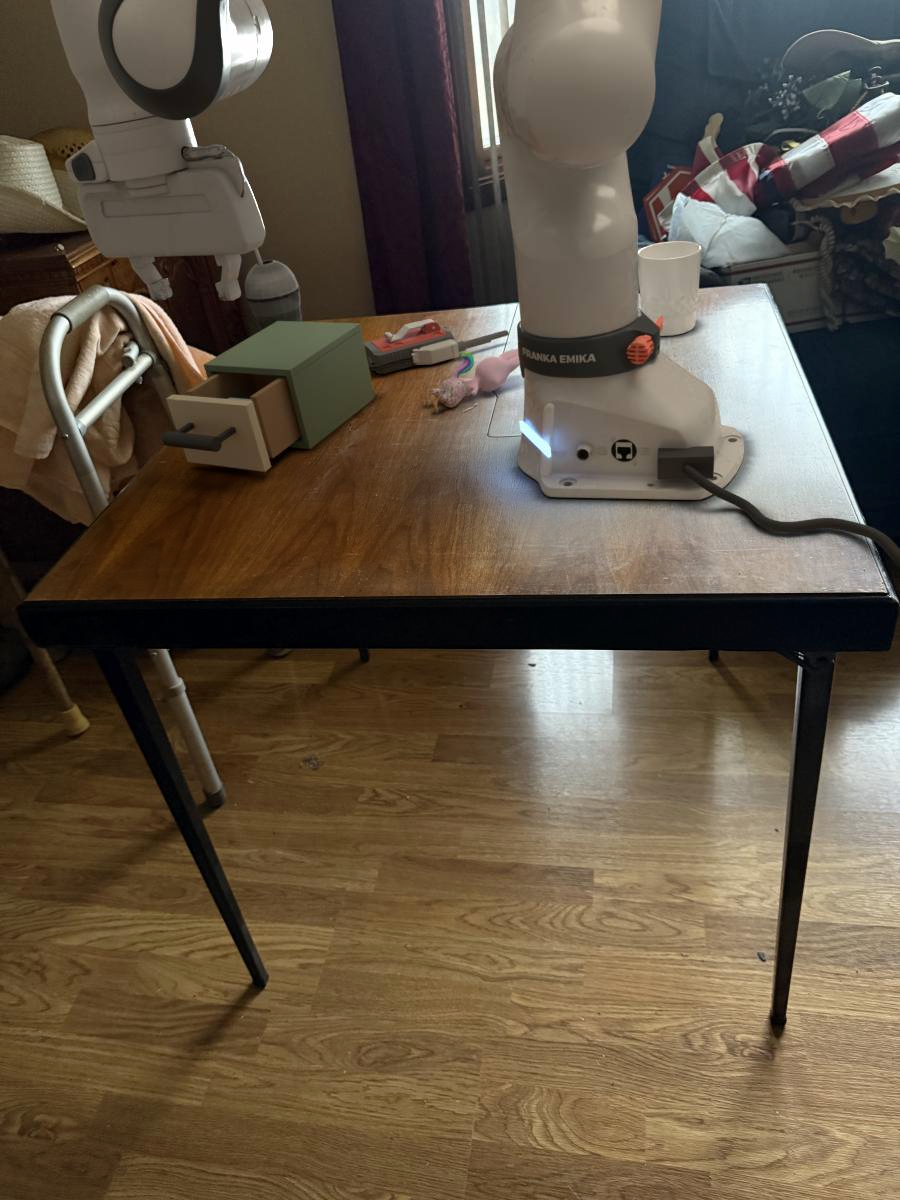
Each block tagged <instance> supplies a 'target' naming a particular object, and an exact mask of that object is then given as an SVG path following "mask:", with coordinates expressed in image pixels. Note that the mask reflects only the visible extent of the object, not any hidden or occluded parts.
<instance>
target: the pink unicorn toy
mask: <svg viewBox="0 0 900 1200" xmlns="http://www.w3.org/2000/svg"><path fill="white" fill-rule="evenodd" d="M459 358H461V359H463V360H462V362H461V363H460V364H459V365H458V366H457V367H456V370H455V371H454V374H453V375H452V377H450V378H448V379H446V380H444V381H443V382H442V383H441V385H440V386H439V387H438V388H430V389H429V391H428V393H427V394H426V393H425V392H423V395H424V399H425V401H424V402H425V404H427V407H429V406H430V400H429V399H430V396H431V395H433V396H434V397H435V398H436V399H434V398H431V400H432V401H433V402H432V404H433V410H434V409H435V410H436V413H438V412H439V407H438V403H442V404H443V405H444V406H445V407H446V408H455V407H456V406H458V404H459V403H460V402H461V401H462V400H463V398H464V397H465V396H470V395H471V396H473V397H474V396H476V394H477V393H478V391H479V387H480V390H481V391H486V392H487V393H492V392H493V391H495V390H497V389H499V388H500V387H501V386H502V385H503V384H505V383H506V382H507V380H508V378H509V376H510V374H511V373H512V372H514V371H515V370H516V369H517V368H519V367H520V362H519V356H518V348H511V349H509V350H506V351H504V352H503V353H501V354H500V355H498V356H496V355H492V356H487V357H485V358H483V359H481V361H479V362H478V364H477V365H476V367H475V370H474V377H473V378H465V377H460V376H461V375H463V374H466V373H468V372H469V371H471V370H472V369H473V367H474V364H475V358H474V356H473V354H472V353H471V352H464V353H462V354H461V355H459Z"/></svg>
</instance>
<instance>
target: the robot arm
mask: <svg viewBox="0 0 900 1200" xmlns="http://www.w3.org/2000/svg"><path fill="white" fill-rule="evenodd" d="M49 1H50V5H51V9H52V13H53V18H54V20H55V24H56V27H57V31H58V34H59V38H60V41H61V44H62V48H63V50H64V53H65V56H66V59H67V62H68V65H69V68H70V70H71V73H72V75H73V76H74V78H75V79H76V81H77V83H78V84H79V86H80V88H81V90H82V92H83V95H84V98H85V101H86V105H87V118H88V122H89V126H90V128H91V131H92V135H93V137H94V139H91V140H90V141H89V142H88V143H86V145H84V146H82V148H81V149H79V150H78V151H77V152H75V153H74V154H73V155H71V156H70V157H68V158H67V159H66V160H65V162H64V164H65V170H66V173H67V175H68V177H69V179H70V181H71V182H72V183H73V184H75V185H76V184H78V185H79V186H78V188H77V200H78V204H79V207H80V211H81V215H82V216H83V219H84V223H85V225H86V227H87V230H88V231H87V232H88V233H89V235H90V238H91V240H92V243H93V245H94V247H95V249H97V251H98V252H100V254H101V255H103V256H104V257H105V258H107V259H113V258H118V259H119V258H128V262H129V263H130V266H131V269H132V270H133V271H134V272H135V273H136V275H137V276H138V277H139V278H140V280H142V282H143V283H144V284H145V285H146V287H147V290H148V293H149V295H150V298H151V300H153V301H166V300H168V299H169V298H171V297H172V296H173V290H172V288H171V283H170V280H169V278H163V277H162V275H161V274H160V272H159V271H158V269H157V267H156V265H154V264H153V263H154V262H155V261H156V259H155V258H156V257H157V258H159V257H192V256H194V257H195V256H198V257H199V256H214V260H215V263H216V266H218V267H221V277H220V281H218V282H216V283H214V285H215V289H216V292H217V293H218V298H219V300H221V301H235V300H237V299H239V298H240V297H241V296H242V291H241V287H240V284H239V280H238V279H239V275H240V270H241V264H242V256H241V255H246V254H248V253H251V252H252V251H254V249H256V248H257V249H258V248H260V247H262V246H263V244H264V242H265V238H266V235H267V233H266V228H265V225H264V221H263V218H262V215H261V212H260V209H259V206H258V203H257V200H256V198H255V195H254V193H253V190H252V188H251V185H250V184H249V181H248V179H247V177H246V175H245V171H244V167H243V164H242V161H241V160H240V158H239V156H236V154H235V153H233V152H232V151H231V150H230V149H227V148H226V146H225V145H224V144H220V143H219V144H218V143H216V144H210V145H207V146H203V145H198V143H197V138H196V136H195V132H194V128H193V125H192V122H191V119H192V118H195V117H197V116H199V115H200V114H202V113H203V112H204V111H206V110H207V109H209V108H210V107H212V106H213V105H214V104H216V103H217V102H218V103H219V102H221V101H222V100H225V99H228V98H230V97H233V96H234V95H235V94H238V93H241V92H242V91H244V90H246V89H248V88H249V87H251V86H252V85H253V84H254V83H255V82H256V81H257V80H258V79H259V78H261V76H262V75H263V74H264V72H265V71H266V70H267V68H268V66H269V65H270V61H271V58H272V56H273V50H274V27H273V23H272V19H271V15H270V12H269V9H268V6H267V4H266V3H265V0H49ZM662 8H663V0H515V1H514V13H513V22H512V24H510V26H509V27H508V29H507V31H506V32H505V34H504V35H503V37H502V39H501V41H500V43H499V46H498V47H497V48H498V49H497V51H496V54H495V57H494V62H493V69H492V87H493V96H494V106H495V113H496V114H495V115H496V122H497V123H496V124H497V130H498V138H499V148H500V154H501V161H502V171H503V178H504V185H505V192H506V193H505V194H506V199H507V206H508V214H509V220H510V221H509V222H510V229H511V236H512V244H513V254H514V265H515V276H516V287H517V296H518V297H517V299H518V306H519V318H520V320H519V321H518V323H517V326H516V333H517V334H516V335H517V336H516V337H517V349H518V356H519V362H520V366H519V369H520V374H521V377H522V379H523V386H524V387H523V391H524V392H523V394H524V396H523V397H524V398H523V418H522V420H519V430H520V431H521V436H520V444H519V448H518V451H517V452H518V453H517V456H516V460H517V464H518V466H519V468H520V469H521V471H523V472H524V473H525V474H526V475H528V476H529V477H531V478H532V479H534V480H535V481H536V482H537V483H538V484H539V487H540V489H541V491H542V493H543V494H544V495H546V496H547V497H551V498H573V499H574V498H579V499H580V498H581V499H583V498H584V499H590V498H591V499H633V500H683V501H688V500H689V501H693V500H696V501H697V500H703V499H705V498H708V497H710V496H712V495H713V496H714V497H717V498H719V499H720V500H723V501H725V502H727V503H730V504H731V505H734V506H735V507H738V508H739V509H741V510H742V511H743V512H744V513H746V514H747V515H748V516H749V518H751V519H752V521H754V523H755V524H757V525H758V526H760V527H762V528H763V529H766V530H769V531H771V532H772V531H773V532H776V533H777V532H778V533H801V532H807V531H814V530H823V529H824V530H825V529H826V530H827V529H829V530H838V531H843V532H847V533H852V534H855V535H859V536H863V537H865V538H867V539H869V540H872V541H874V543H876V544H877V545H878V546H880V547H881V548H882V550H883V551H884V552H885V553H886V554H887V556H888V557H889V558H890V559H891V561H892V563H894V565H895V567H896V568H897V570H898V572H900V547H898V545H897V543H895V542H894V541H893V540H892V539H891V538H890V537H889V536H888V535H887V534H885V533H883V532H882V531H880V530H878V528H875V527H872V526H871V525H870V526H869V525H867V524H865V523H864V524H863V523H861V522H855V521H852V520H847V519H843V518H839V517H838V518H837V517H818V518H811V519H804V520H796V521H781V520H777V519H776V520H775V519H772V518H769V517H767V516H765V515H764V514H763V513H762V512H761V511H760V509H758V508H757V506H755V505H754V504H753V503H751V502H750V501H749V500H746V499H745V498H744V497H742V496H740V495H737V494H735V493H733V492H731V491H729V490H727V489H725V487H726V486H727V485H728V484H729V483H730V482H731V481H732V480H733V478H735V475H736V474H737V473H738V471H739V469H740V467H741V464H742V463H743V460H744V455H745V444H744V437H743V435H742V434H741V432H740V431H739V430H738V428H736V427H734V426H729V425H724V424H722V421H721V414H720V413H721V412H720V408H719V402H718V400H717V399H718V398H717V396H716V393H715V392H714V390H713V389H712V387H711V386H710V385H709V384H708V383H706V382H704V381H703V380H702V379H700V378H699V377H697V376H696V375H695V374H693V373H692V372H691V371H689V370H687V369H686V368H684V367H683V366H681V365H680V364H678V363H677V362H676V361H675V360H673V359H672V358H671V357H669V356H668V355H666V354H665V353H664V352H662V351H661V336H660V332H661V331H662V330H663V325H662V324H663V316H660V318H659V319H658V320H657V321H656V322H655V323H654V322H653V321H652V320H651V319H650V318H648V317H647V316H646V315H645V314H644V313H643V312H642V309H641V307H640V297H639V296H640V287H639V268H638V251H639V224H638V218H637V213H636V210H635V205H634V199H633V193H632V185H631V178H630V172H629V163H628V155H627V150H628V149H629V148H630V147H632V145H634V143H635V142H637V140H638V139H639V137H640V136H641V134H642V133H643V131H644V130H645V128H646V126H647V123H648V122H649V119H650V116H651V114H652V111H653V107H654V104H655V99H656V98H655V97H656V57H657V49H658V43H659V35H660V25H661V18H662Z"/></svg>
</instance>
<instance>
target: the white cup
mask: <svg viewBox="0 0 900 1200" xmlns="http://www.w3.org/2000/svg"><path fill="white" fill-rule="evenodd" d="M702 248H703V247H702V245H700V244H699V243H696V242H694V241H687V240H686V241H685V240H675V241H661V242H658V243H653V244H650V245H647V246H644V247H643V248H642V247H641V249H638V276H639V296H640V297H639V299H640V309H641V310H642V312H643V313H644V314H645V315H646V316H647V317H648V318H650V319H651V320H652V321H653V322H654V323H655V322H656V321H657V320H658V319H659V318H660V316H663V324H662V325H663V330H662V331H661V332H660V337H667V336H677V335H681V334H685V333H688V332H690V331H691V330H693V329H694V328H695V326H696V321H697V320H696V319H697V306H698V301H699V289H700V279H701V277H700V276H701V265H702V264H701V262H702Z"/></svg>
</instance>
